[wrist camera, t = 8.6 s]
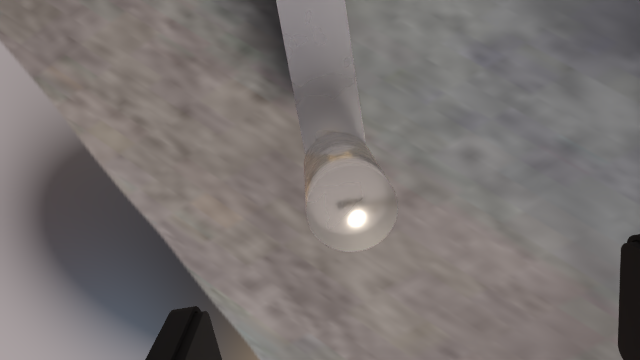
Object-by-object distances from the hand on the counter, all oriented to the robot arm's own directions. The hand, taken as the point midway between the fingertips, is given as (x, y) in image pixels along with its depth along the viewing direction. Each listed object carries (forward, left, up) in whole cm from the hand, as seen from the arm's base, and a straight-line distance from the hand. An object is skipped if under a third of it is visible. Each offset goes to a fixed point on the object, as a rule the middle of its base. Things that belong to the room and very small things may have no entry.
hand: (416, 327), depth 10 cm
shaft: (+1, -7, -16) cm, 17 cm away
